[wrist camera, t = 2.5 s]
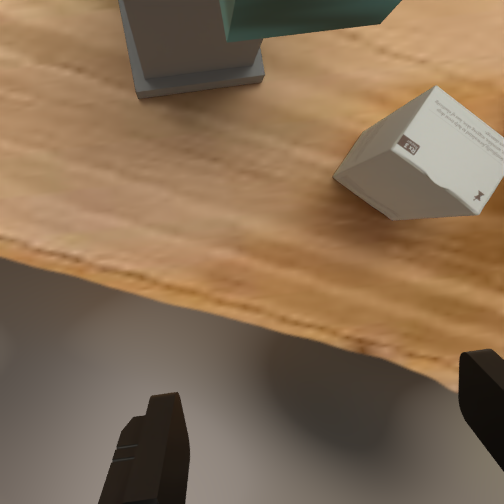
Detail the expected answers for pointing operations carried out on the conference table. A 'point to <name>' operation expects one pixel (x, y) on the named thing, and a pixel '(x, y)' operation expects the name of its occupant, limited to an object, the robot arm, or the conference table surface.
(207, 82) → the pedestal
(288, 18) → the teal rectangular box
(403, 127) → the skincare box
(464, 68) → the conference table surface
